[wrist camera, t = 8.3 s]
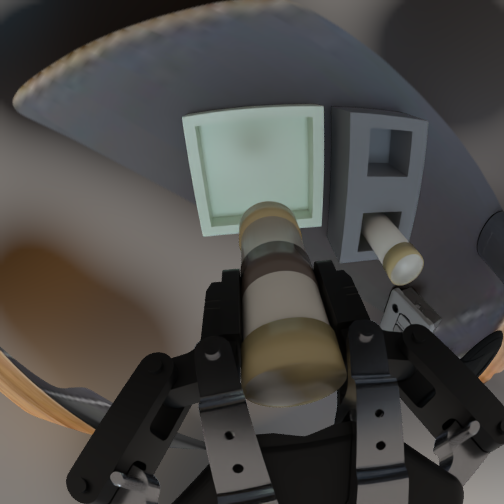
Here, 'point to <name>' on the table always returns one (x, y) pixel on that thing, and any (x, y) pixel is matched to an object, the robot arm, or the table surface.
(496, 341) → the black flat oval piece
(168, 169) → the table surface
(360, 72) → the table surface
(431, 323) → the electrical switch
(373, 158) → the holder block
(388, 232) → the fuse
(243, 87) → the table surface
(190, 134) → the parts tray
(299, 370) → the fuse
